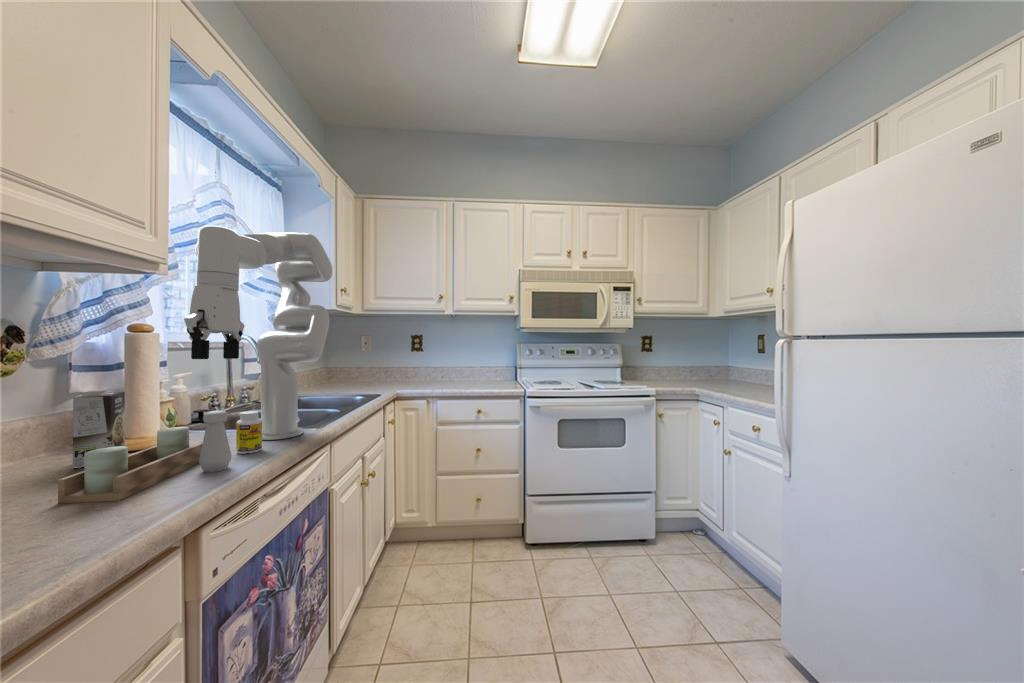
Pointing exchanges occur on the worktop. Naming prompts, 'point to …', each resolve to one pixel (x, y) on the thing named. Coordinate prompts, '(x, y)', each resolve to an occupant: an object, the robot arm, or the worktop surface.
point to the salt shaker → (215, 443)
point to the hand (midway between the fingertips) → (216, 358)
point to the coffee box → (97, 423)
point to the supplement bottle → (249, 433)
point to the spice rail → (129, 468)
